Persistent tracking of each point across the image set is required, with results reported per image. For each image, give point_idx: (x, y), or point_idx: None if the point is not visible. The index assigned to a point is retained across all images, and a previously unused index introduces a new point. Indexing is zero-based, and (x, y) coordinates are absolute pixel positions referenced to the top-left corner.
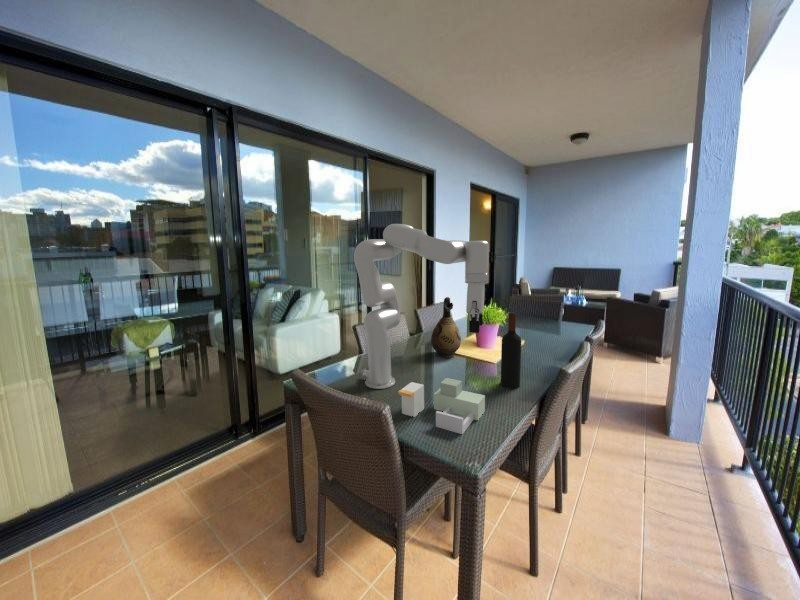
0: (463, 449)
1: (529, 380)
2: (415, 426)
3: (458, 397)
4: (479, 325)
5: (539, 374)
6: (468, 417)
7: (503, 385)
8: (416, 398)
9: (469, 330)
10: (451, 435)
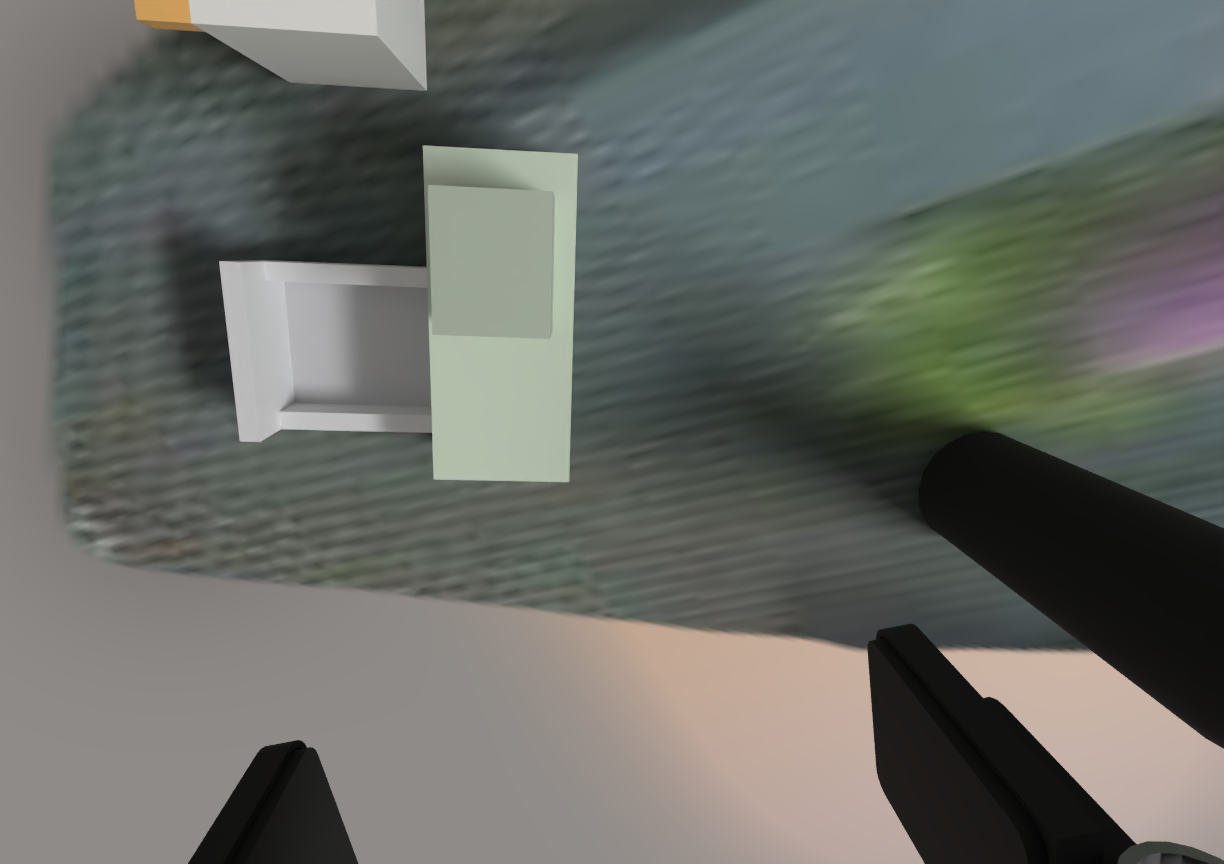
0: (166, 464)
1: None
2: (196, 143)
3: (454, 338)
4: (882, 731)
5: None
6: (376, 425)
7: (936, 462)
8: (268, 48)
9: (251, 768)
10: None
